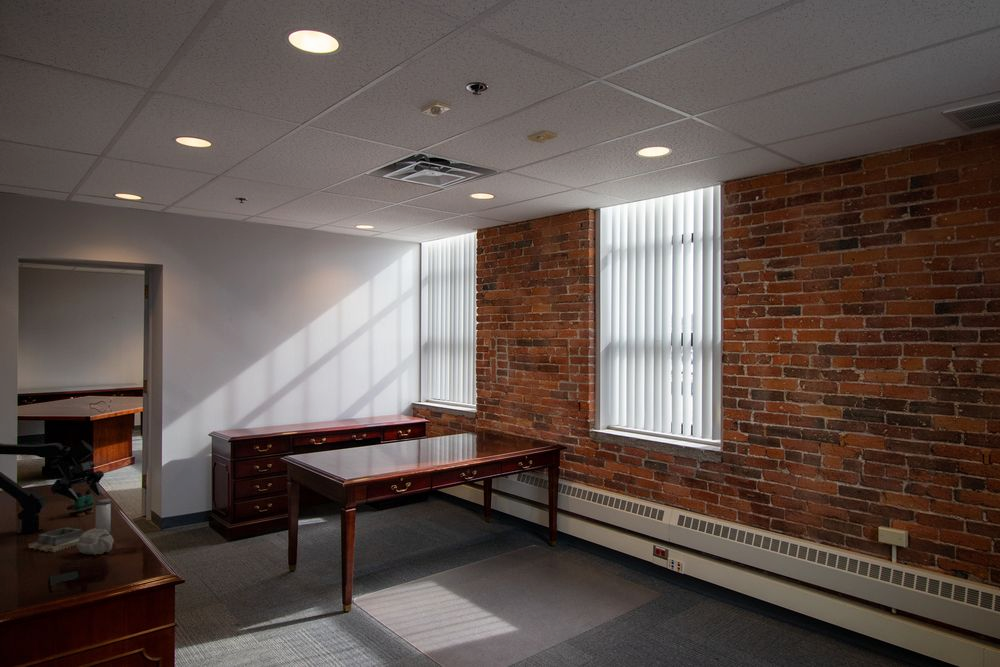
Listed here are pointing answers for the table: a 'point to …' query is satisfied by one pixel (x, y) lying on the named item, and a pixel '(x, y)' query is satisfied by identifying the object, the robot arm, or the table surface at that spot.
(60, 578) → the phone
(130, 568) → the table surface
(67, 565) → the table surface
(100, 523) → the tube
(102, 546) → the fossil replica
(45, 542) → the collar
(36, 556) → the table surface
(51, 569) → the table surface
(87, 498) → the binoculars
